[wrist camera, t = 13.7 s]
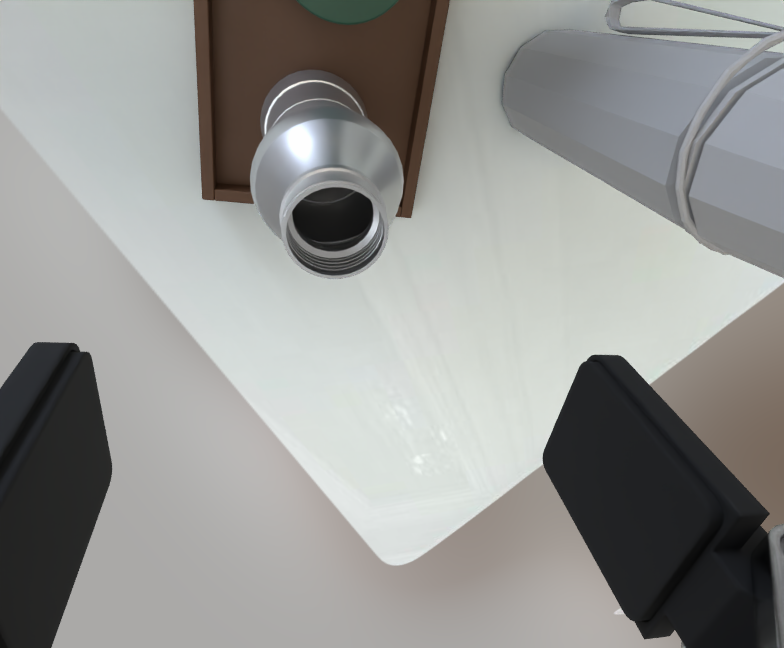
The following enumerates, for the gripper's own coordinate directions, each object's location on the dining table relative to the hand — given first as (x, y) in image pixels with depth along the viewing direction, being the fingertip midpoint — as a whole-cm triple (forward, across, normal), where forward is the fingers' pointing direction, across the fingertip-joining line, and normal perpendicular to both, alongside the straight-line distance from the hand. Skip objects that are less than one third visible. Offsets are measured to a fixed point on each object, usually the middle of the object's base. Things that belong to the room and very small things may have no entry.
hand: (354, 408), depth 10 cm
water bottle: (+30, -17, -5) cm, 34 cm away
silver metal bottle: (+29, -1, 0) cm, 29 cm away
